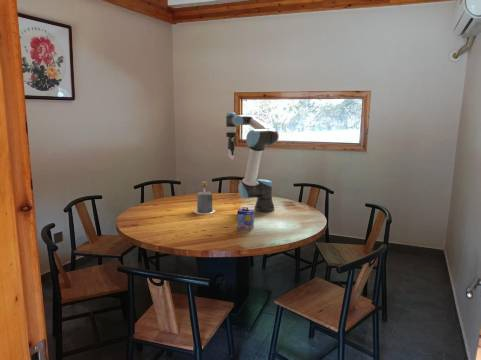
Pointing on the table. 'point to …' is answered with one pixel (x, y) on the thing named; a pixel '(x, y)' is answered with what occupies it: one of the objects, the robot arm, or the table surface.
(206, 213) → the trivet
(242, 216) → the ink cartridge box
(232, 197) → the table surface
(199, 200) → the grey piece
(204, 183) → the plunger
